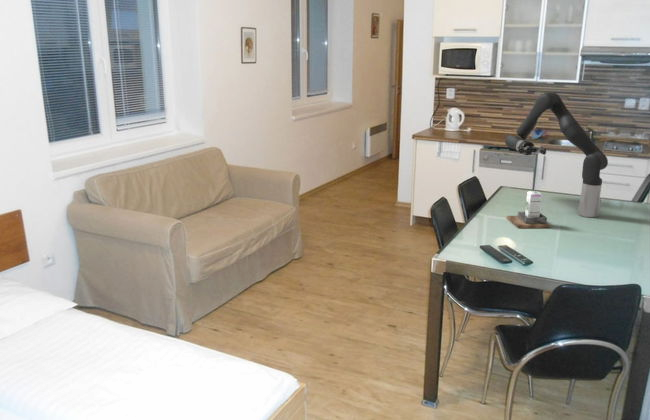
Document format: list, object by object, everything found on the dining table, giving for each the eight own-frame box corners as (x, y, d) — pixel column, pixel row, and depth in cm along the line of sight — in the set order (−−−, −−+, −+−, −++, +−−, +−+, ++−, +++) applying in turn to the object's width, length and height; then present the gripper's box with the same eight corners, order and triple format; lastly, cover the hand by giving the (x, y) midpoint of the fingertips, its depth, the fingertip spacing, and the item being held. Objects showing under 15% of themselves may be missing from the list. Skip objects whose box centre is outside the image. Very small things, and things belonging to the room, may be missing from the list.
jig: (536, 218, 300) (537, 210, 299) (549, 228, 285) (550, 219, 283) (506, 218, 299) (507, 210, 298) (517, 228, 284) (518, 219, 283)
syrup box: (539, 222, 289) (542, 194, 285) (527, 221, 289) (530, 193, 285) (535, 218, 295) (538, 191, 290) (523, 218, 294) (526, 191, 290)
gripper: (513, 140, 319) (524, 145, 303) (538, 140, 319) (550, 145, 304) (511, 153, 321) (522, 159, 305) (536, 153, 322) (549, 159, 306)
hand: (536, 152), depth 305 cm, fingers open, 8 cm apart
